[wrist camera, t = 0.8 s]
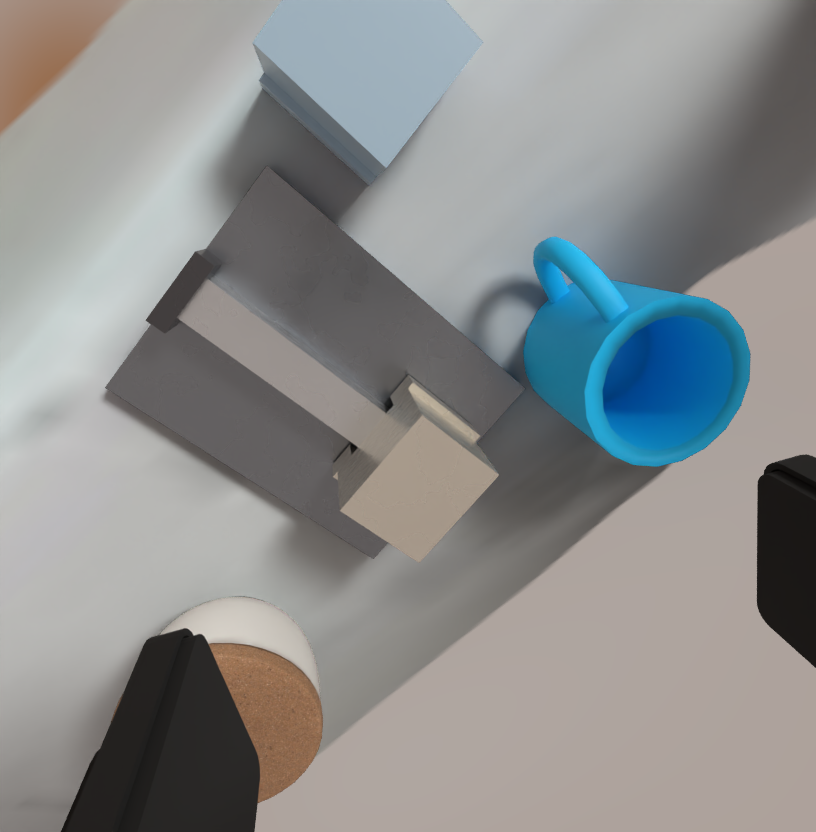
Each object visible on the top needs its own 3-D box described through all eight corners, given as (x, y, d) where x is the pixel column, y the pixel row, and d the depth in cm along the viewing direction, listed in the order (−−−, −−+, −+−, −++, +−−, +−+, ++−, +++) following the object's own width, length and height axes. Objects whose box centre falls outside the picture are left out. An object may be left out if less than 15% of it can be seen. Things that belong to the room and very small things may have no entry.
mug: (675, 357, 34) (776, 396, 26) (567, 437, 35) (636, 498, 27) (578, 189, 30) (666, 178, 22) (458, 285, 31) (504, 305, 23)
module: (351, -38, 25) (360, -113, 20) (455, 72, 27) (490, 33, 22) (262, 88, 26) (246, 51, 21) (368, 185, 28) (380, 176, 23)
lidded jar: (281, 717, 39) (269, 861, 30) (126, 674, 36) (63, 820, 27) (350, 597, 36) (359, 717, 28) (191, 541, 33) (143, 654, 25)
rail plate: (269, 167, 27) (251, 149, 21) (519, 383, 33) (570, 425, 26) (111, 382, 30) (50, 429, 23) (372, 550, 35) (383, 627, 29)
